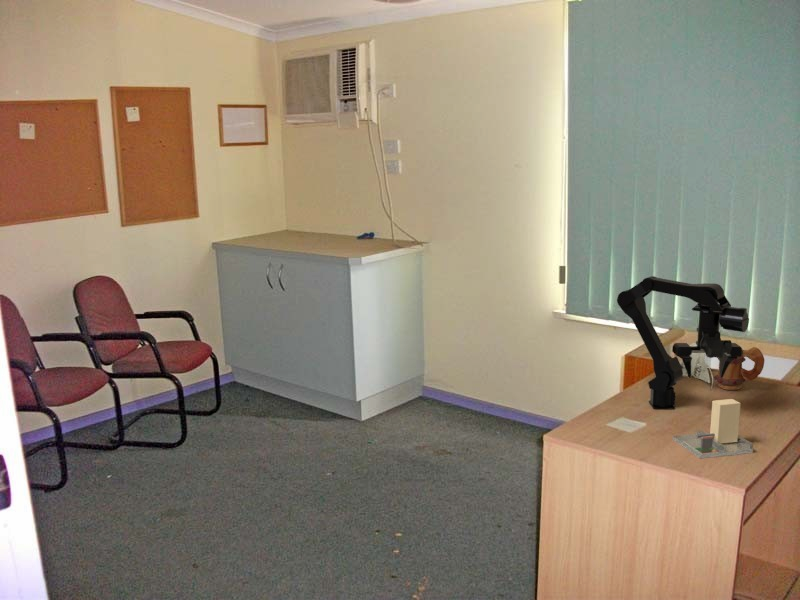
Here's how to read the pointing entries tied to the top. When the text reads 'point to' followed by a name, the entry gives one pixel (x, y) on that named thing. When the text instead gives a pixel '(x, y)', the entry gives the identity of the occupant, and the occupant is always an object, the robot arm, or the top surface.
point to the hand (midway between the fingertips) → (705, 377)
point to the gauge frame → (713, 446)
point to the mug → (740, 370)
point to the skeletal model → (698, 367)
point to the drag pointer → (706, 442)
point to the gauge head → (724, 421)
